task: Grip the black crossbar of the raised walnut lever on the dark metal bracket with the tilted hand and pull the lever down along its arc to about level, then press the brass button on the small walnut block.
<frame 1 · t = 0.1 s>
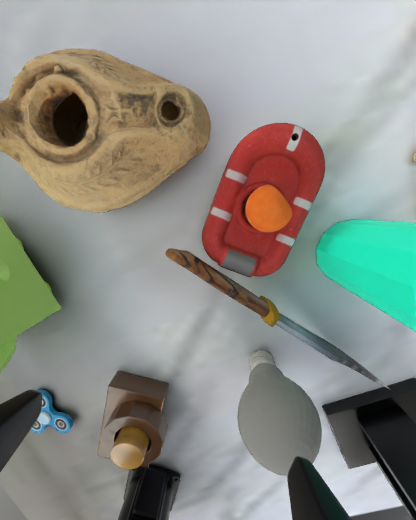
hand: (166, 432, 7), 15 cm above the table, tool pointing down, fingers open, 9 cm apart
button box: (136, 410, 26), on the table
button: (130, 446, 21), point 4 cm above the table, slide at 0.1 cm
teapot: (11, 277, 23), on the table
bracket: (376, 419, 24), on the table
knife: (279, 309, 22), on the table
toy boat: (254, 208, 20), on the table
oil lamp: (127, 144, 19), on the table
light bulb: (260, 357, 23), on the table
candle: (347, 251, 20), on the table
toy: (39, 422, 25), point 1 cm above the table
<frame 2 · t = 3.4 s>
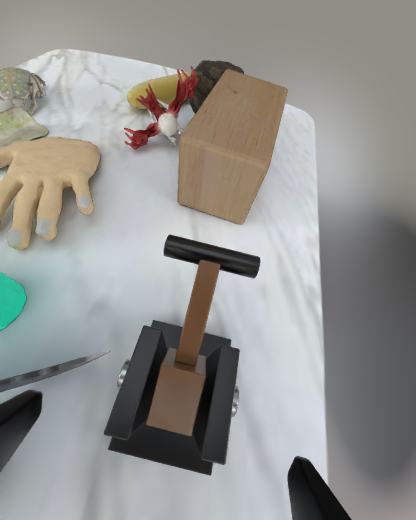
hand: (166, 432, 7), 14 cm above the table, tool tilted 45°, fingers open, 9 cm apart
wooden block: (214, 189, 26), point 5 cm above the table, touching rock
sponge: (7, 130, 31), point 2 cm above the table
figurine: (171, 126, 38), point 2 cm above the table
rock: (202, 78, 39), point 7 cm above the table, touching wooden block
bracket: (178, 386, 20), on the table
bullet: (166, 109, 44), on the table
decorative insect model: (34, 103, 41), on the table
hand model: (69, 147, 34), on the table
lever: (193, 327, 11), point 11 cm above the table, hinge at 28.0°
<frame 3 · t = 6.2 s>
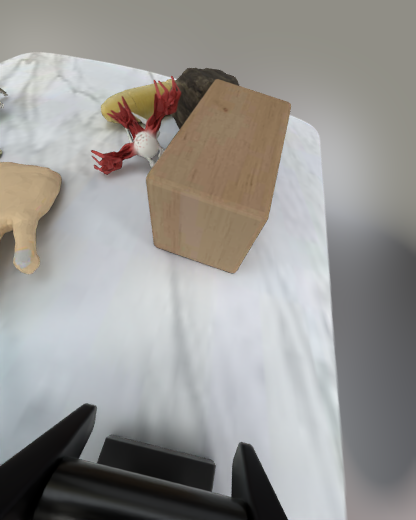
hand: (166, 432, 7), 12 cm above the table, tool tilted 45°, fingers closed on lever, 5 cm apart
wooden block: (197, 238, 20), point 5 cm above the table, touching rock
figurine: (152, 145, 32), point 2 cm above the table
rock: (189, 88, 33), point 7 cm above the table, touching wooden block
bullet: (149, 122, 38), on the table
hand model: (25, 172, 28), on the table
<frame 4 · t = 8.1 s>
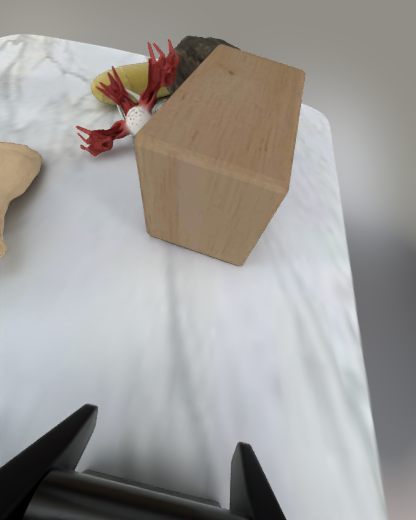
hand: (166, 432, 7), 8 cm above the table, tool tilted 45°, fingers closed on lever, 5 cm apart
wooden block: (198, 220, 17), point 5 cm above the table, touching rock
figurine: (147, 125, 29), point 2 cm above the table
rock: (188, 64, 29), point 7 cm above the table, touching wooden block
bullet: (145, 104, 35), on the table
hand model: (2, 152, 25), on the table
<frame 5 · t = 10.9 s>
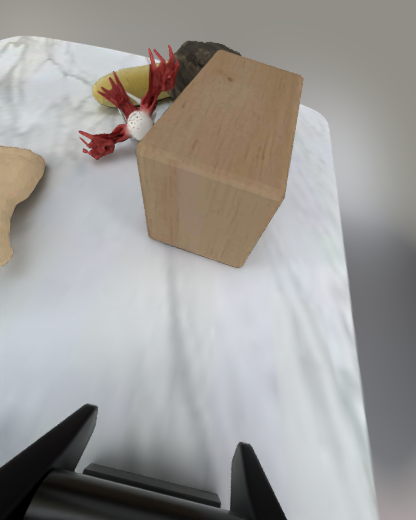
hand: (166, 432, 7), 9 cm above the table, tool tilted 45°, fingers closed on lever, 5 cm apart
wooden block: (198, 225, 17), point 5 cm above the table, touching rock
figurine: (148, 128, 29), point 2 cm above the table
rock: (189, 67, 30), point 7 cm above the table, touching wooden block
bullet: (145, 107, 35), on the table
hand model: (6, 156, 25), on the table
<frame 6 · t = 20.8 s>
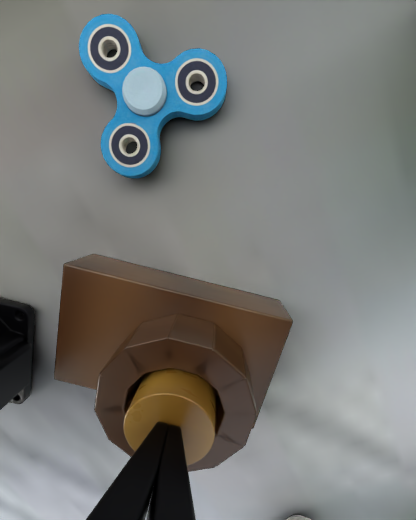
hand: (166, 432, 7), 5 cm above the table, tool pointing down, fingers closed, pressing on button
button box: (174, 326, 12), on the table
button: (173, 409, 8), point 4 cm above the table, slide at -0.5 cm, touching gripper
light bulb: (295, 516, 15), on the table
toy: (131, 73, 8), point 1 cm above the table
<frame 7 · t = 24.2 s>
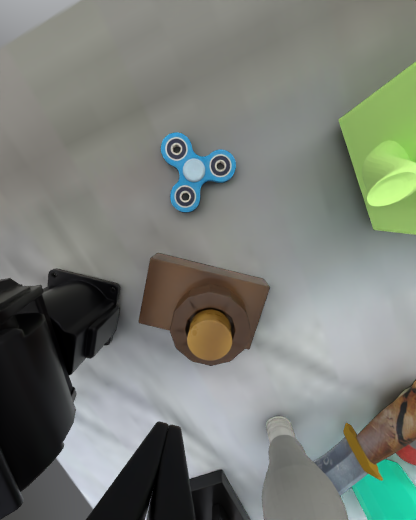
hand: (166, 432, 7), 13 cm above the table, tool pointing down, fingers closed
button box: (203, 295, 20), on the table
button: (209, 334, 16), point 4 cm above the table, slide at 0.1 cm
teapot: (410, 150, 17), on the table
bracket: (208, 507, 26), on the table
knife: (328, 434, 23), on the table
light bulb: (276, 419, 23), on the table
candle: (376, 477, 24), on the table
toy: (189, 163, 16), point 1 cm above the table
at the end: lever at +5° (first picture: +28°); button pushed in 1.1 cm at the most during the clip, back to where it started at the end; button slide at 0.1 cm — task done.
